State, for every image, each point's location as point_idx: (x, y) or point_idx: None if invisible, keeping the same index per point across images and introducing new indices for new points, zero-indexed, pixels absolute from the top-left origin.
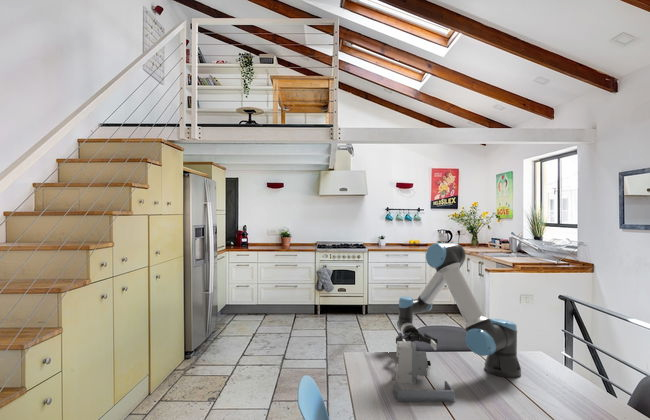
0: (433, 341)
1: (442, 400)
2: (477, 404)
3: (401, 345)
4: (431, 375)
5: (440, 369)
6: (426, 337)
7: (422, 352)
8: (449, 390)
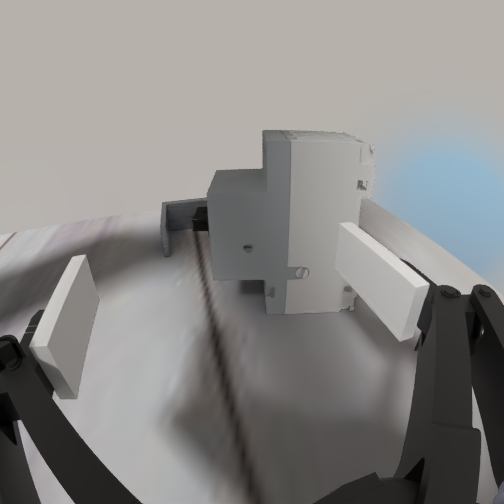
0: (55, 300)
1: None
2: (114, 230)
3: (332, 135)
4: (181, 337)
5: (103, 406)
6: (59, 435)
7: (228, 187)
8: (173, 202)
